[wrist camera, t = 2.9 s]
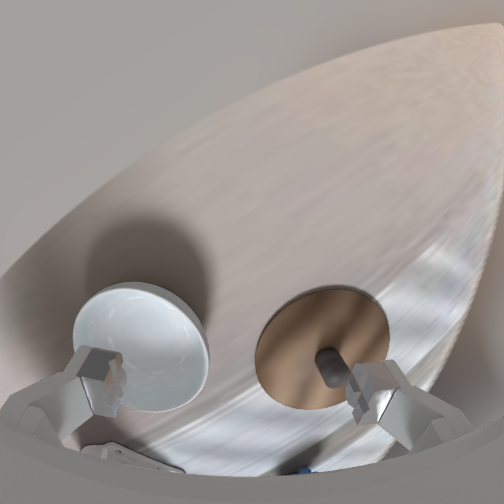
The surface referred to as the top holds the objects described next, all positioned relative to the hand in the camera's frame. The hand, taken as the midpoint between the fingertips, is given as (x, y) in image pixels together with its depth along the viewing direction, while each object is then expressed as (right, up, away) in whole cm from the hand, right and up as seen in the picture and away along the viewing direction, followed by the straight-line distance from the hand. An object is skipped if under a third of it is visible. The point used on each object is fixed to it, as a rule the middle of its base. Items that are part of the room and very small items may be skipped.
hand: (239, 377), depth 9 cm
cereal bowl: (-13, -6, +28) cm, 31 cm away
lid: (+11, -10, +31) cm, 34 cm away
